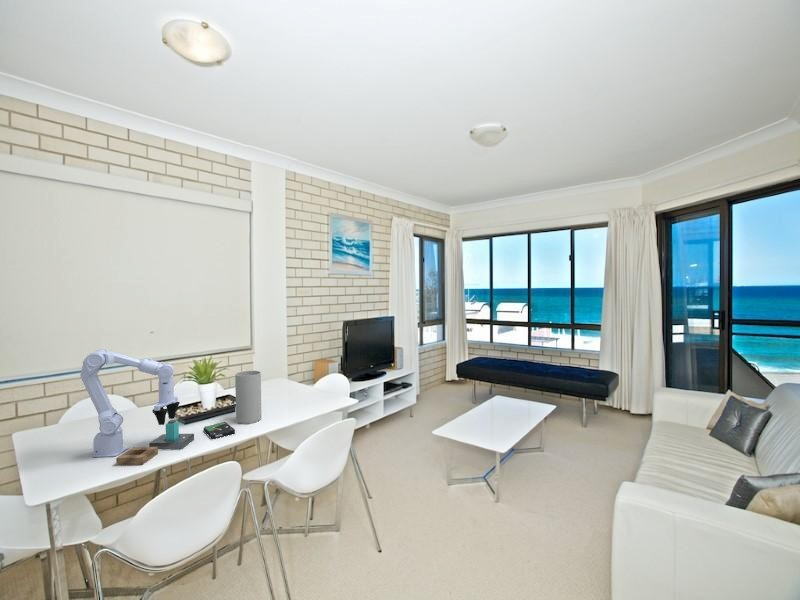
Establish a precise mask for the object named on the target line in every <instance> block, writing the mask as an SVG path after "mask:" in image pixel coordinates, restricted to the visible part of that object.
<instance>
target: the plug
mask: <svg viewBox="0 0 800 600" xmlns="http://www.w3.org/2000/svg"><path fill="white" fill-rule="evenodd" d="M179 424H180V423H179V421H178V420H177V419H169V421H167V423H165V434H166V441H167V440H176V439H177V438H179V434H180V431H179V427H180V426H179Z"/></svg>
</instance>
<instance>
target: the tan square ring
mask: <svg viewBox="0 0 800 600" xmlns="http://www.w3.org/2000/svg"><path fill="white" fill-rule="evenodd" d="M158 454H159V450H158V447H149V446H139V447H138V446H134V447H131V448H129V449H127V450H126V451H124V452H123V453H121V455H120V454H119V456H117V457H116V458H115V460H116V462H115V465H116V466H117V465H121V466H143V465H145V464H146V463H147V462H149V461H150V460H151V459H153V458H154V457H156V456H157V455H158ZM144 463H145V464H144Z"/></svg>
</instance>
